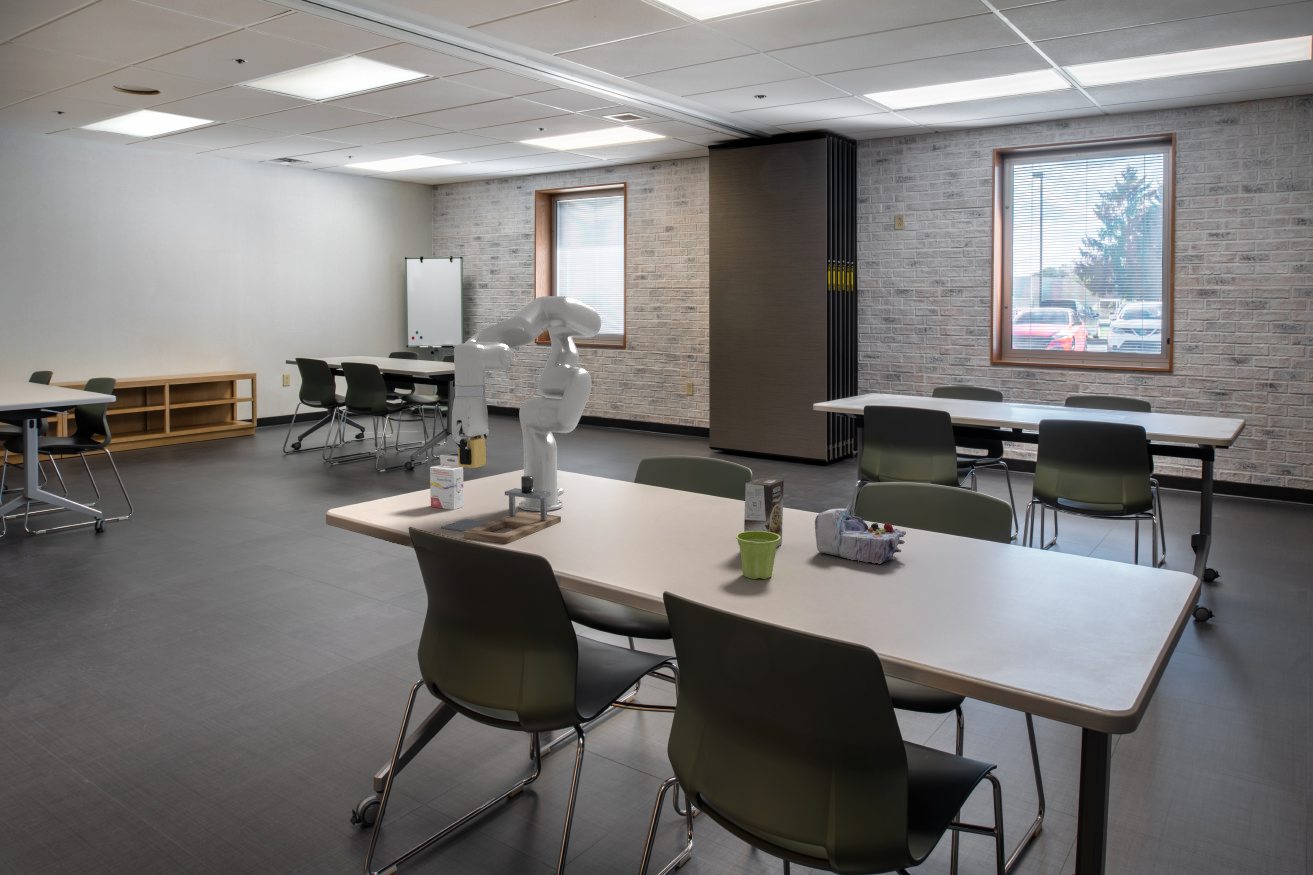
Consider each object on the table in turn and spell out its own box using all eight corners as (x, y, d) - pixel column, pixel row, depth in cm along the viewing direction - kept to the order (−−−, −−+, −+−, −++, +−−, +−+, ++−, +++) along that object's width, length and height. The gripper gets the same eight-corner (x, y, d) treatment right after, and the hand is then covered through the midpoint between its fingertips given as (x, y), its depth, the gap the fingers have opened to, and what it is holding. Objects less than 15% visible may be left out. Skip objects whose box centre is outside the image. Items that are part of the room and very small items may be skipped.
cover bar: (515, 513, 231) (515, 473, 230) (550, 517, 227) (550, 476, 225) (505, 517, 227) (504, 476, 225) (540, 521, 222) (540, 480, 221)
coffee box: (767, 552, 201) (769, 485, 199) (742, 548, 204) (744, 482, 202) (783, 544, 209) (785, 479, 206) (759, 540, 212) (760, 476, 210)
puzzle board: (520, 516, 235) (519, 511, 235) (560, 521, 230) (560, 516, 229) (463, 537, 213) (463, 531, 212) (507, 543, 207) (507, 537, 207)
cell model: (825, 500, 208) (910, 511, 199) (823, 544, 209) (906, 556, 201) (810, 511, 196) (899, 523, 187) (807, 556, 198) (895, 570, 189)
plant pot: (762, 585, 177) (763, 544, 175) (726, 575, 183) (727, 536, 182) (787, 575, 184) (789, 535, 182) (751, 566, 190) (752, 528, 189)
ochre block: (469, 463, 224) (469, 436, 223) (486, 464, 222) (485, 438, 221) (458, 466, 220) (457, 439, 219) (474, 467, 218) (474, 440, 217)
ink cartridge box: (429, 507, 246) (428, 456, 244) (441, 503, 250) (439, 454, 248) (453, 510, 242) (452, 458, 240) (464, 506, 247) (463, 456, 245)
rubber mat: (464, 520, 231) (464, 518, 231) (495, 524, 226) (495, 522, 226) (440, 528, 222) (440, 526, 222) (472, 532, 217) (472, 531, 217)
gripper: (477, 389, 227) (478, 456, 230) (437, 394, 212) (439, 466, 214) (501, 390, 224) (502, 458, 227) (462, 395, 209) (464, 469, 212)
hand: (472, 461), depth 221 cm, fingers closed on ochre block, 5 cm apart
